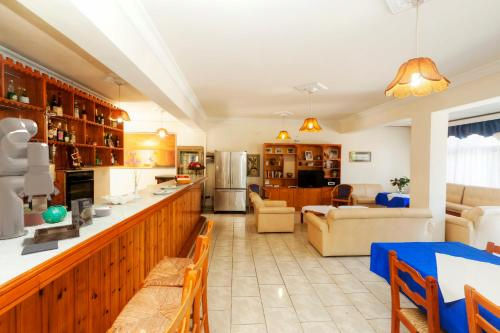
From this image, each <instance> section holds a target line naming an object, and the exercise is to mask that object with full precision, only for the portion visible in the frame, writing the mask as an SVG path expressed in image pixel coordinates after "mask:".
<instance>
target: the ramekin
mask: <svg viewBox="0 0 500 333" xmlns="http://www.w3.org/2000/svg"><path fill="white" fill-rule="evenodd" d="M93 210H94V214H95V216H96V217H97V218H102V217H109V216H111V215H112V212H113V206H100V207H99V206H98V207H95V208H94V209H93Z"/></svg>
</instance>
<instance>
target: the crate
mask: <svg viewBox="0 0 500 333" xmlns="http://www.w3.org/2000/svg"><path fill="white" fill-rule="evenodd" d="M80 237H81V236H80V228H79V226H78V223H77V224H72V223H71V224H63V225H57V226H56V225H55V226H50V227H42V228H35V231H34V235H33V245H34V244H40V243H46V242H52V241H62V240H68V239H74V238H80Z"/></svg>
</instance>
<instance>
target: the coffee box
mask: <svg viewBox="0 0 500 333" xmlns="http://www.w3.org/2000/svg"><path fill="white" fill-rule="evenodd" d="M93 220H94V218H93V198H91V197H90V198H87V197H85V198H78V199H73V200H71V224H77V223H78V226H79V229H81V228H84V227H87V226H90V225H93V223H94V222H93Z"/></svg>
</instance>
